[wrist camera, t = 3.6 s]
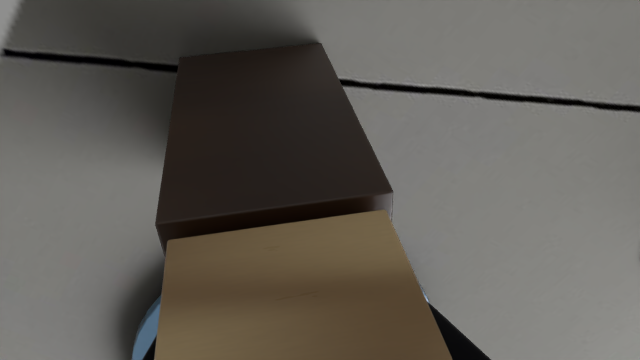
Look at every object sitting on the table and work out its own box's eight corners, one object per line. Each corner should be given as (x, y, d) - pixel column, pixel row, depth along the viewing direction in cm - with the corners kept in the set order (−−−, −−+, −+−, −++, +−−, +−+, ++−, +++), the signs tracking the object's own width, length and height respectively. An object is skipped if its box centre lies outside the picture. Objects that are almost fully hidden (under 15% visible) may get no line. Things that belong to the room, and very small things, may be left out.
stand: (204, 175, 18) (198, 372, 12) (178, 56, 16) (154, 223, 9) (326, 159, 19) (386, 339, 12) (321, 42, 16) (394, 190, 10)
